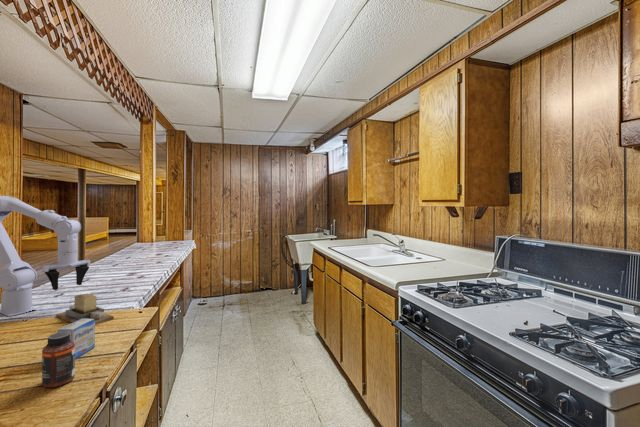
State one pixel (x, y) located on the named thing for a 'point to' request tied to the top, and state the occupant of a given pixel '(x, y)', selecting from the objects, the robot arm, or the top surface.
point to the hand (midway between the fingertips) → (67, 287)
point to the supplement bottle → (58, 360)
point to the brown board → (85, 315)
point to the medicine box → (81, 335)
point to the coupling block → (85, 303)
